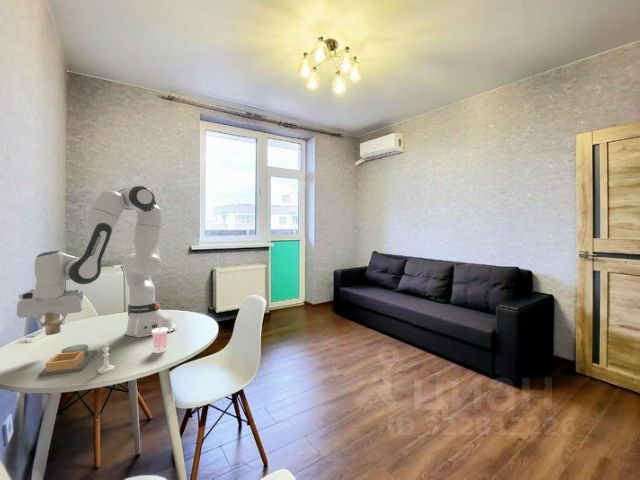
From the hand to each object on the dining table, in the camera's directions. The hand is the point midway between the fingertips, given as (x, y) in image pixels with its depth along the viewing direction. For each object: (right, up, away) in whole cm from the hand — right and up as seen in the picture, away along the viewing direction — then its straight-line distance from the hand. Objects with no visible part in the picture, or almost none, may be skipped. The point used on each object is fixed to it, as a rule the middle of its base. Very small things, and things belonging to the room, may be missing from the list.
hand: (52, 325), depth 118 cm
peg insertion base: (+13, -12, -7) cm, 19 cm away
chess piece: (+31, -13, -12) cm, 35 cm away
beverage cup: (+41, -12, +5) cm, 43 cm away
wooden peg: (0, -3, 0) cm, 3 cm away
